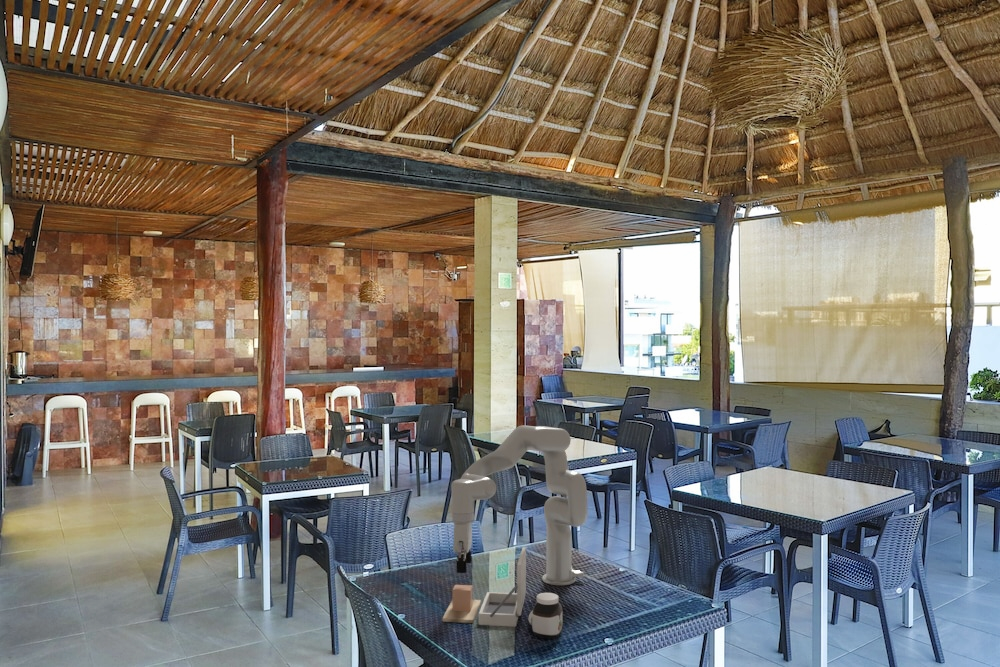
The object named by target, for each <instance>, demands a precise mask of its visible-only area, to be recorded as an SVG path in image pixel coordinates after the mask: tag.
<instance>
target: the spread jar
mask: <svg viewBox="0 0 1000 667" xmlns="http://www.w3.org/2000/svg"><path fill="white" fill-rule="evenodd" d="M528 622H529V624H530V625H531V626H532V632H533V633H534V635H535V636H536V637H538V638H541V639H544V640H549V639H550V640H551V639H555V638H557V637H558V636H560V634H561V632H562V629H563V606H562V604H561V603H560V602H559V595H558V594H556V593H553V592H540V593H538V594H536V603H535V605H534V606H533V609H532V610H531V611H530V613H529V615H528Z"/></svg>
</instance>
